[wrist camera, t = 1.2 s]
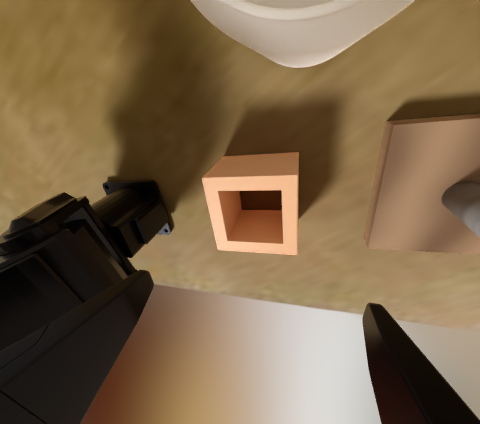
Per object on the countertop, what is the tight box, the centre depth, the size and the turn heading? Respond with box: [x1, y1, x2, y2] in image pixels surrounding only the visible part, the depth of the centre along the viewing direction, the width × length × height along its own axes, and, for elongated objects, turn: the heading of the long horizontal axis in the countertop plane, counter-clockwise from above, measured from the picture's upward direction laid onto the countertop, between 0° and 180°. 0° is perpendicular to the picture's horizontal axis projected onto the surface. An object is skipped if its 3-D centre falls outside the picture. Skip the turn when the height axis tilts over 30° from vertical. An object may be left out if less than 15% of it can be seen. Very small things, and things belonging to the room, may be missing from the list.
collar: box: [202, 152, 299, 255], centre depth 18 cm, size 6×6×5 cm
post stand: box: [364, 113, 480, 254], centre depth 14 cm, size 10×10×6 cm
